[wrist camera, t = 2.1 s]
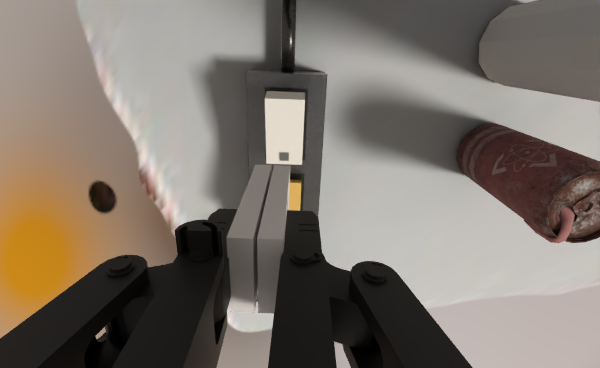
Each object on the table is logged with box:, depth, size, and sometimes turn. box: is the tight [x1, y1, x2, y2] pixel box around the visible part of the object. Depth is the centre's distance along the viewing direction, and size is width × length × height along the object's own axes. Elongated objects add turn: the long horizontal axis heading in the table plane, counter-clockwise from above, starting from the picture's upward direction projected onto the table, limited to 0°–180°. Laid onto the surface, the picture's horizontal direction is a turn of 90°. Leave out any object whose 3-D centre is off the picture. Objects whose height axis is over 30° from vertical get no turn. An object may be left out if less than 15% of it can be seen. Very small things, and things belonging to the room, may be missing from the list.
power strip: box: [246, 0, 327, 301], centre depth 34 cm, size 31×7×4 cm, turn 178°
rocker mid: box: [289, 179, 301, 211], centre depth 32 cm, size 6×3×2 cm, turn 178°
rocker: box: [265, 91, 305, 165], centre depth 29 cm, size 6×3×2 cm, turn 178°
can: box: [457, 124, 600, 243], centre depth 29 cm, size 6×6×14 cm
